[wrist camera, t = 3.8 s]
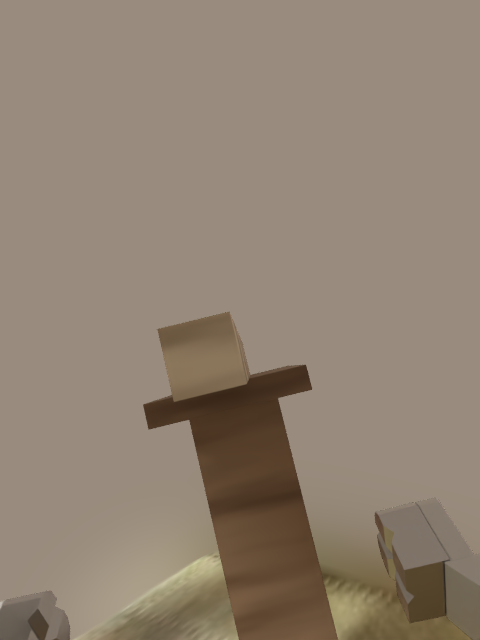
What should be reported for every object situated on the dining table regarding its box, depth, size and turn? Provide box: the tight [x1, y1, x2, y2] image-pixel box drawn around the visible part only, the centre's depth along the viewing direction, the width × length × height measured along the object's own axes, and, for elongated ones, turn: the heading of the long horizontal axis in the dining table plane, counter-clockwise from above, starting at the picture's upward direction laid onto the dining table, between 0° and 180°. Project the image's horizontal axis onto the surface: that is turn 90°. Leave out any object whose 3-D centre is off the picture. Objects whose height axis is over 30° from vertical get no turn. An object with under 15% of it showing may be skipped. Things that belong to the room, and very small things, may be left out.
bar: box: [158, 312, 250, 402], centre depth 29 cm, size 22×3×3 cm, turn 178°
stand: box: [143, 365, 338, 640], centre depth 32 cm, size 14×10×26 cm
